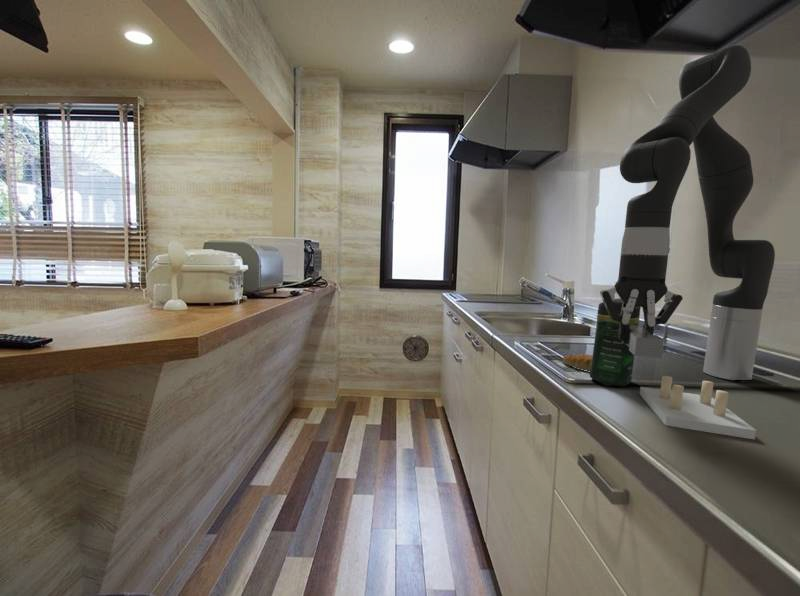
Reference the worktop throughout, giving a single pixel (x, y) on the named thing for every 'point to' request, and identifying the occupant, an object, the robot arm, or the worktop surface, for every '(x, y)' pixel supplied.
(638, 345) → the grey long block
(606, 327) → the coffee jar
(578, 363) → the pastry
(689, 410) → the rack
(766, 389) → the worktop surface
